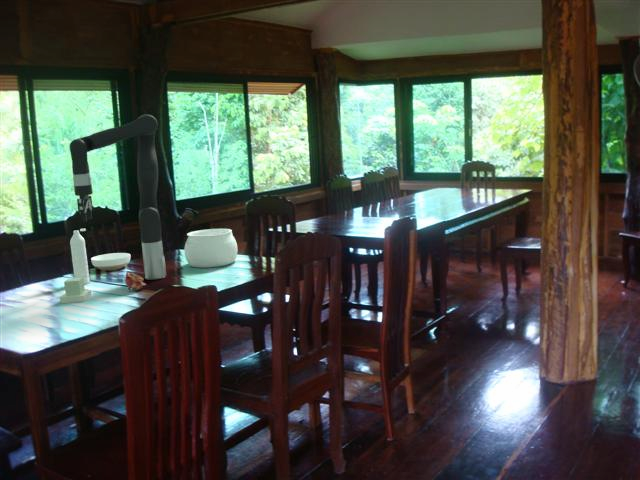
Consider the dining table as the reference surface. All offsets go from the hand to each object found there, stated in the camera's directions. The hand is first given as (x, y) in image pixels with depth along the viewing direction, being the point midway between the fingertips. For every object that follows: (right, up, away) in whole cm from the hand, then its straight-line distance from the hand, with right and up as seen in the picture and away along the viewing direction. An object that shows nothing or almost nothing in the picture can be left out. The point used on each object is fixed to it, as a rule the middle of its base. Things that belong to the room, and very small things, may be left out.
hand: (87, 220), depth 307 cm
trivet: (+2, -34, -20) cm, 39 cm away
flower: (+25, -31, -9) cm, 40 cm away
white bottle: (-6, -29, +13) cm, 32 cm away
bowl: (-2, -24, +44) cm, 50 cm away
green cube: (+2, -31, -20) cm, 37 cm away
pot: (+50, -21, +40) cm, 67 cm away
